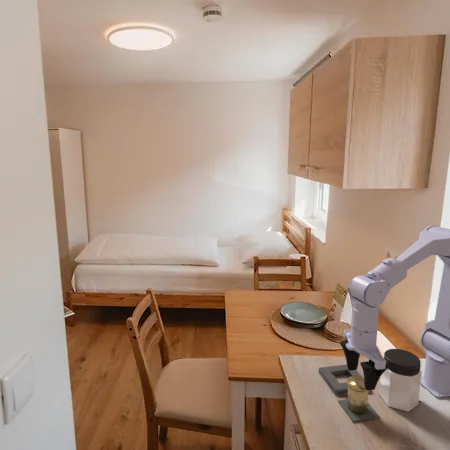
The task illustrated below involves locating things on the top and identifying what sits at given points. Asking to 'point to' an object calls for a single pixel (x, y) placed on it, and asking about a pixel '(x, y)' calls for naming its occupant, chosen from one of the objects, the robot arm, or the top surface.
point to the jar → (401, 379)
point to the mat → (355, 418)
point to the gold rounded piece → (357, 395)
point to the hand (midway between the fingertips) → (360, 378)
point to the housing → (332, 382)
